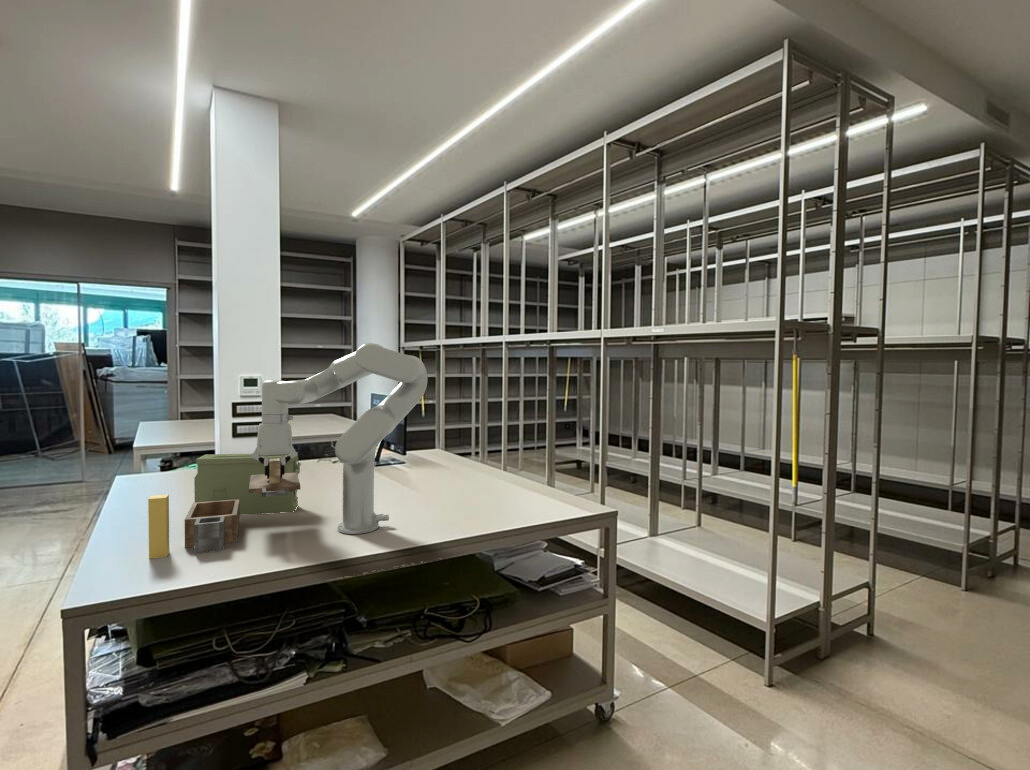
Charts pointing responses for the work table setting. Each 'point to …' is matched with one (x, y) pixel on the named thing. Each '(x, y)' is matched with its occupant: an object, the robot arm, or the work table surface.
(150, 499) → the yellow rectangular block
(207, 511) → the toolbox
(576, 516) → the work table surface
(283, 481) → the lid
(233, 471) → the ammunition box
